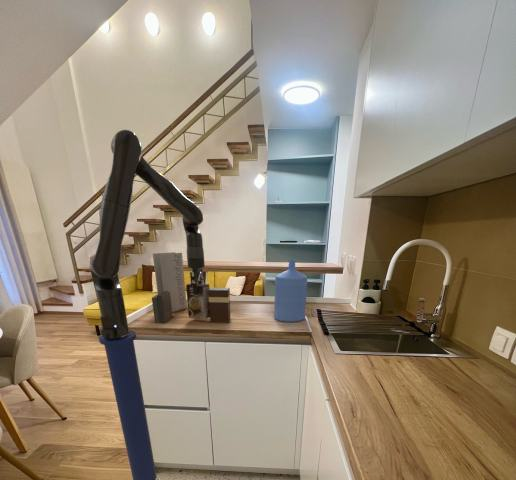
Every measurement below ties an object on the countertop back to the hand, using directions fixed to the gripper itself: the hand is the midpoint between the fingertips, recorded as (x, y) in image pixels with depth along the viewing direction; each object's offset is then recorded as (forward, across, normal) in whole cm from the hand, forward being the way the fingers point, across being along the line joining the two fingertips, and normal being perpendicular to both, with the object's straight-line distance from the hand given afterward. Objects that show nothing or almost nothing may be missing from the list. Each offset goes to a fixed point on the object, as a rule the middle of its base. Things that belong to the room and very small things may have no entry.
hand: (198, 292), depth 132 cm
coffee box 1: (+12, 0, 0) cm, 12 cm away
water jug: (+14, -7, +44) cm, 47 cm away
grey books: (+13, 0, -18) cm, 22 cm away
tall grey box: (+14, -18, -19) cm, 30 cm away
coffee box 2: (+13, 0, +10) cm, 17 cm away
